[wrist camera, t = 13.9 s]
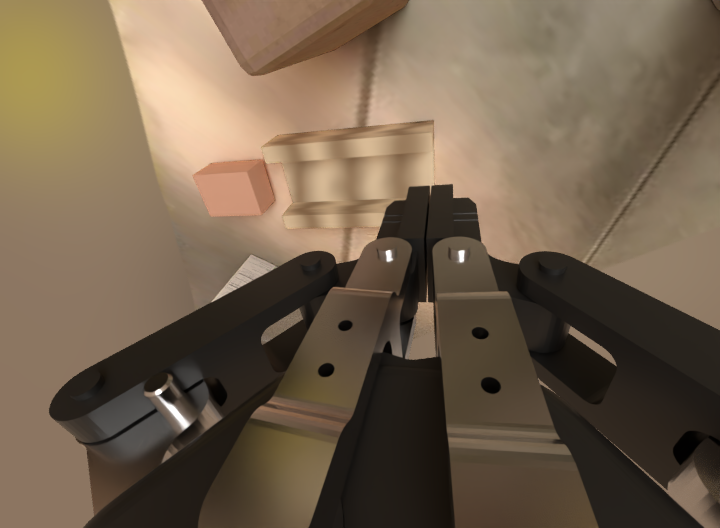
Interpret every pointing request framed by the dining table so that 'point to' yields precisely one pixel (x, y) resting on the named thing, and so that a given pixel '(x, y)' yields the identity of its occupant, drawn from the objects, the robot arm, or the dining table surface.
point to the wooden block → (292, 28)
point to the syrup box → (246, 274)
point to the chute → (352, 172)
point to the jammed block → (235, 188)
